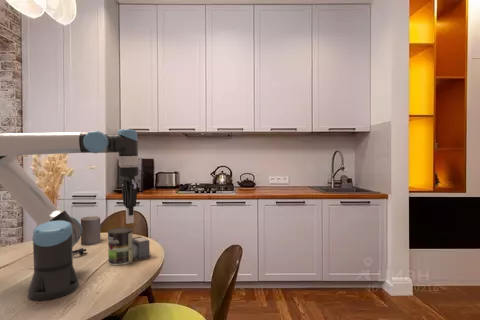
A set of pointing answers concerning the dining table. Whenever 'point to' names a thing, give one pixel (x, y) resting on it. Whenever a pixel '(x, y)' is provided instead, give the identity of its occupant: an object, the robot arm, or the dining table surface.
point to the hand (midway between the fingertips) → (130, 222)
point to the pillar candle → (90, 230)
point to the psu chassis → (140, 247)
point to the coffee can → (120, 246)
